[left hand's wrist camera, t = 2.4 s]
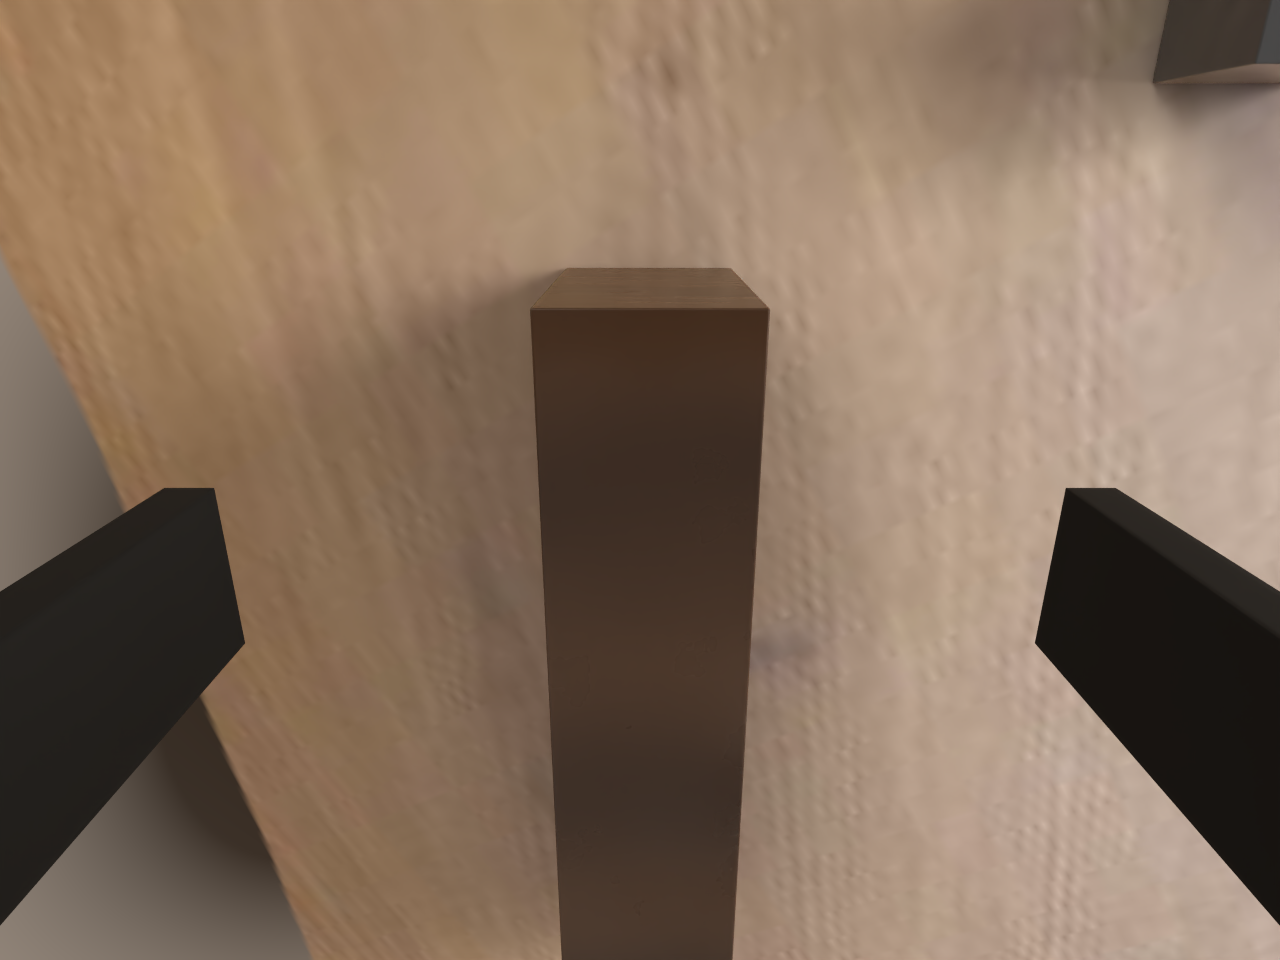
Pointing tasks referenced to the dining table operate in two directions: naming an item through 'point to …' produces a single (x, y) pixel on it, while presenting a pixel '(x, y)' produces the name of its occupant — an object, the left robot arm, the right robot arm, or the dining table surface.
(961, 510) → the dining table surface
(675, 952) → the bar
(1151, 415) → the dining table surface
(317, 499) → the dining table surface
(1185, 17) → the slate block
